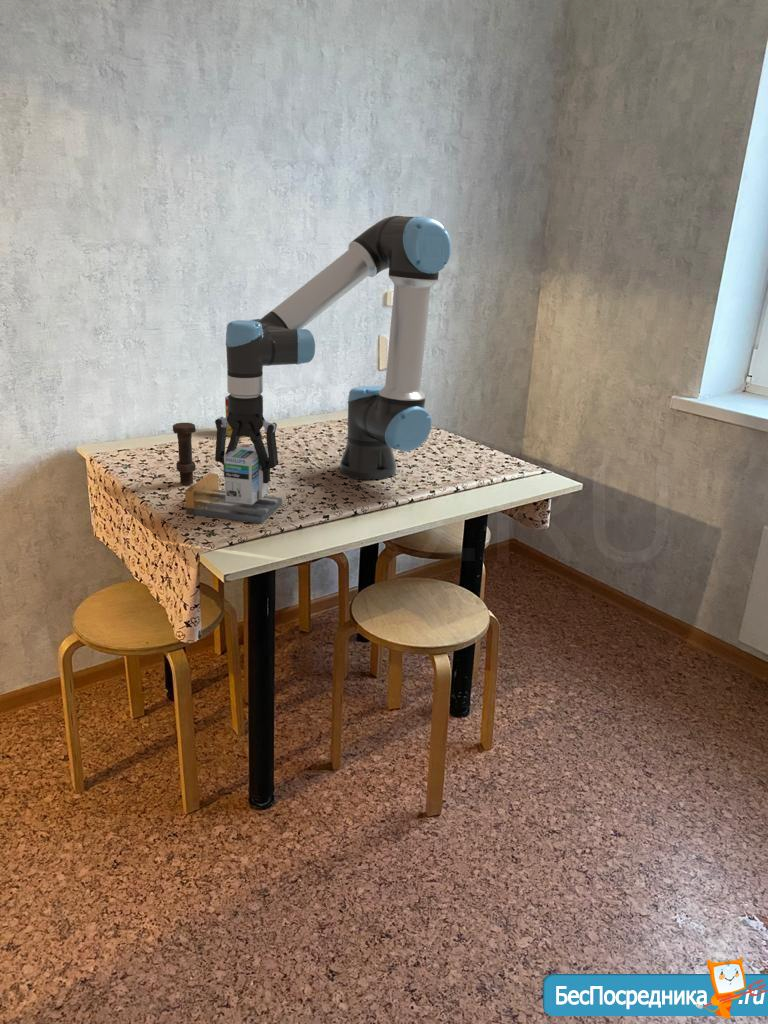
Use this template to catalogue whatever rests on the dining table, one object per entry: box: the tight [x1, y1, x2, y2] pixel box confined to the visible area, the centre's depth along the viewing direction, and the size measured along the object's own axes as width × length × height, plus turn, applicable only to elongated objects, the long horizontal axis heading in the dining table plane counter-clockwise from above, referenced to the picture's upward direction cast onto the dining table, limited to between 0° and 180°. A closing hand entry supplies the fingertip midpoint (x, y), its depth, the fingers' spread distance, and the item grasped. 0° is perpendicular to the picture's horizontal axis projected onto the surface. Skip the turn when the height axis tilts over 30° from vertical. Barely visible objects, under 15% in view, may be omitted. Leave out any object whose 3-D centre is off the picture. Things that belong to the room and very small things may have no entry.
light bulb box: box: [223, 443, 269, 505], centre depth 174 cm, size 11×7×11 cm, turn 168°
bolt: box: [172, 422, 197, 486], centre depth 189 cm, size 6×5×15 cm
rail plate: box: [184, 472, 283, 525], centre depth 177 cm, size 18×13×6 cm
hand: (247, 493), depth 176 cm, fingers closed on light bulb box, 7 cm apart
